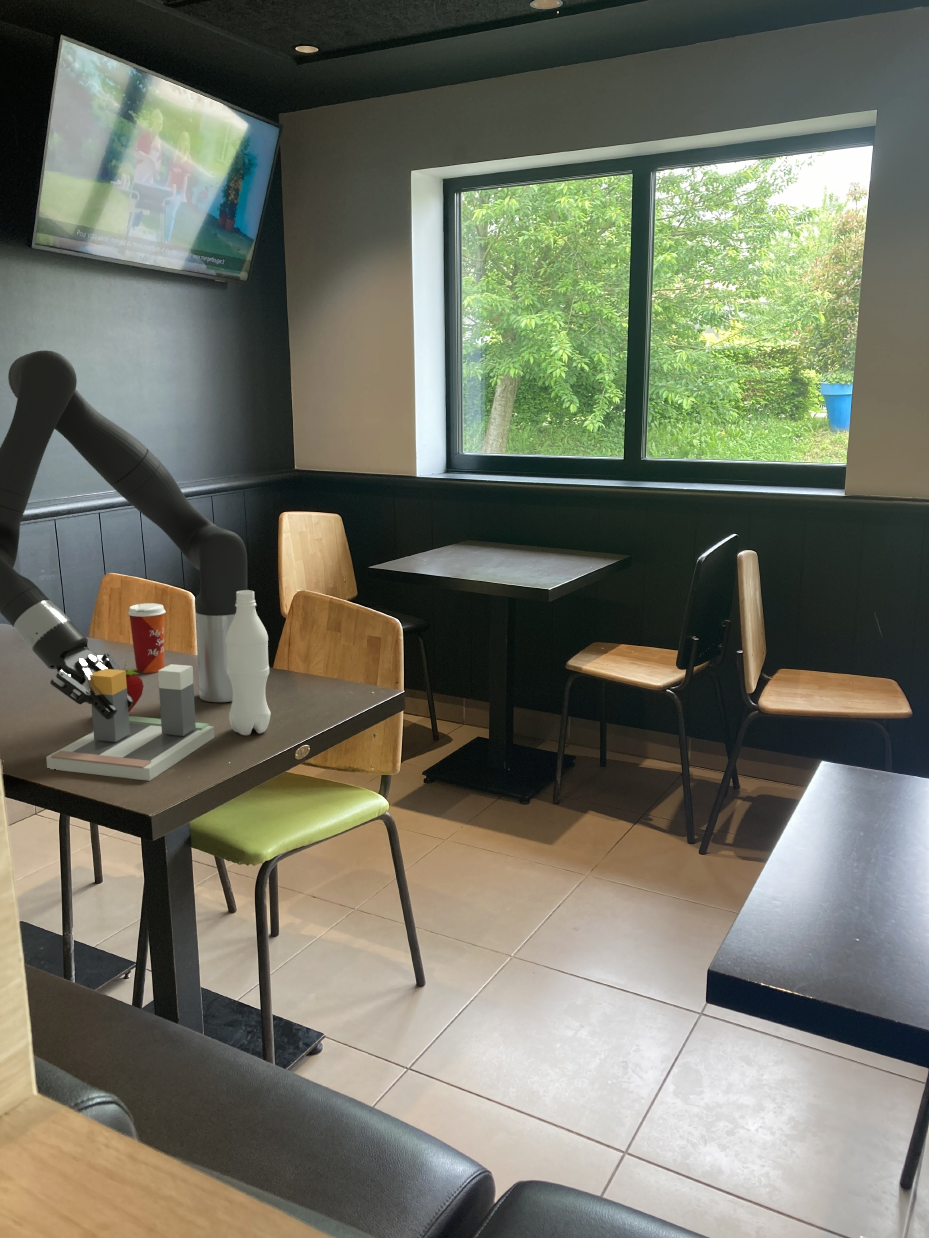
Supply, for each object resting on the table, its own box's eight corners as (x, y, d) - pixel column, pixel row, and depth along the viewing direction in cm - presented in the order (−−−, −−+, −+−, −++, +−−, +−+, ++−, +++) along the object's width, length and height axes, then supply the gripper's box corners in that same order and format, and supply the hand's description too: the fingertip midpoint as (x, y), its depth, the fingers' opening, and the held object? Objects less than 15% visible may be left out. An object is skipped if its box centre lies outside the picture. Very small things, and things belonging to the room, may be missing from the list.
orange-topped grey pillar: (108, 731, 156) (104, 668, 154) (129, 733, 156) (125, 670, 153) (94, 739, 153) (89, 675, 150) (115, 742, 152) (111, 677, 149)
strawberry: (121, 706, 177) (118, 655, 175) (153, 712, 174) (149, 660, 172) (98, 715, 172) (94, 663, 169) (130, 721, 169) (126, 668, 166)
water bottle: (235, 740, 160) (229, 597, 154) (225, 727, 166) (219, 589, 161) (276, 733, 163) (271, 594, 158) (264, 721, 169) (260, 586, 164)
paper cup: (162, 675, 198) (158, 610, 195) (126, 674, 198) (121, 609, 195) (173, 665, 205) (170, 602, 202) (139, 664, 205) (135, 602, 202)
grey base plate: (122, 727, 165) (117, 654, 162) (214, 736, 161) (211, 662, 158) (46, 769, 146) (39, 687, 143) (149, 781, 142) (143, 697, 139)
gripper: (34, 629, 145) (108, 710, 145) (90, 610, 158) (158, 685, 158) (8, 659, 147) (81, 739, 147) (65, 638, 161) (133, 712, 161)
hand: (121, 711), depth 153 cm, fingers closed on orange-topped grey pillar, 4 cm apart
